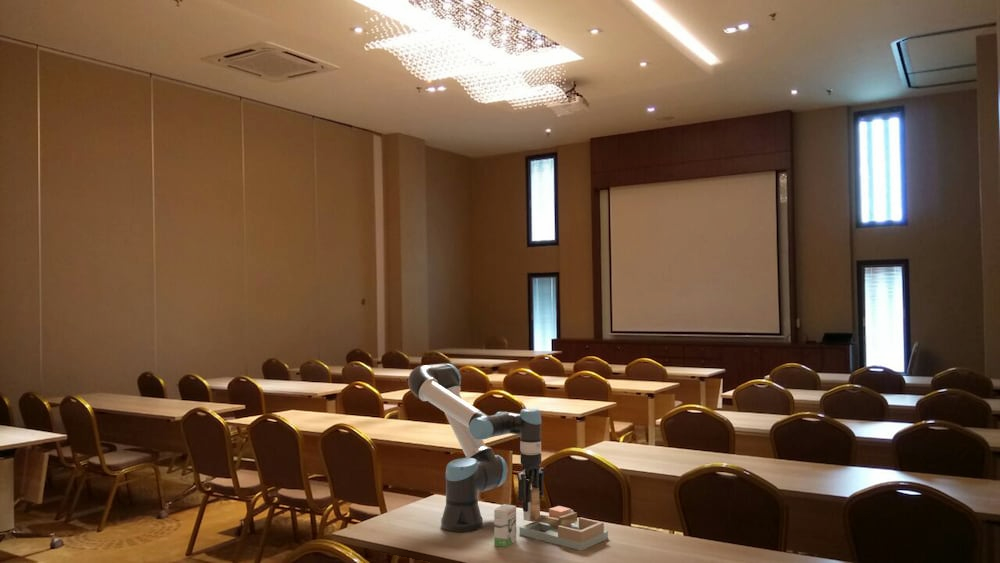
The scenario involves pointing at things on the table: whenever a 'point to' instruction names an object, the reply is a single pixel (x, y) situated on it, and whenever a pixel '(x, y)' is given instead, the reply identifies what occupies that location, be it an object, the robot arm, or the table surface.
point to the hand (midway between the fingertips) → (531, 518)
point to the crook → (537, 517)
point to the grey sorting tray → (568, 533)
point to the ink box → (504, 525)
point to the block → (559, 512)
